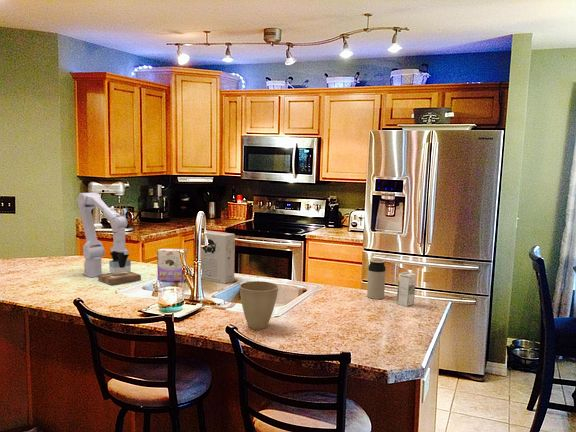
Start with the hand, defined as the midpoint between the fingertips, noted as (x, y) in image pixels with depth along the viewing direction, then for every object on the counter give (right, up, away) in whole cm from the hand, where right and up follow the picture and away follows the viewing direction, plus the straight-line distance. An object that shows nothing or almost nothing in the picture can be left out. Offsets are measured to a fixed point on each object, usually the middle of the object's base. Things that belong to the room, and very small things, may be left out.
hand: (119, 266), depth 260 cm
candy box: (+26, -8, +4) cm, 27 cm away
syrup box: (+140, -15, -28) cm, 143 cm away
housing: (0, -3, +1) cm, 3 cm away
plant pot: (+75, -17, -63) cm, 99 cm away
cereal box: (+47, -8, +9) cm, 48 cm away
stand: (0, -7, +1) cm, 7 cm away
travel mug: (+128, -13, -17) cm, 130 cm away
